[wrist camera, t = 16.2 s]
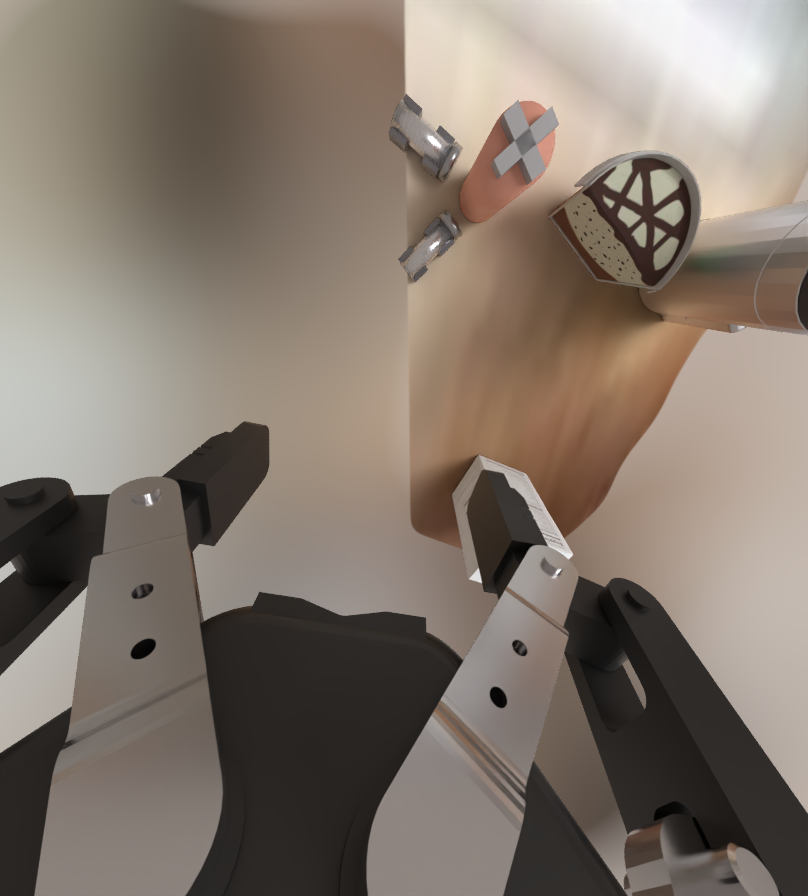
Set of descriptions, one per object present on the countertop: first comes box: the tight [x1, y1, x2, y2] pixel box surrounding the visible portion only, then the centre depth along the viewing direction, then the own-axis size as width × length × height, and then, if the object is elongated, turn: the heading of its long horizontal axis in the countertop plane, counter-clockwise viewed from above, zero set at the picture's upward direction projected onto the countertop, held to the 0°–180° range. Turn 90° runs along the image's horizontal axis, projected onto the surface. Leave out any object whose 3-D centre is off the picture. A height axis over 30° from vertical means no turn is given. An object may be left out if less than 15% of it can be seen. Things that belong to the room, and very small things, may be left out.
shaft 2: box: [399, 210, 462, 282], centre depth 34 cm, size 7×3×3 cm, turn 132°
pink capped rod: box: [459, 100, 559, 222], centre depth 26 cm, size 4×4×15 cm
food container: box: [549, 151, 701, 293], centre depth 29 cm, size 12×6×10 cm, turn 49°
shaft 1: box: [389, 94, 463, 182], centre depth 29 cm, size 7×3×3 cm, turn 57°
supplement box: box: [452, 455, 573, 583], centre depth 44 cm, size 10×9×17 cm
